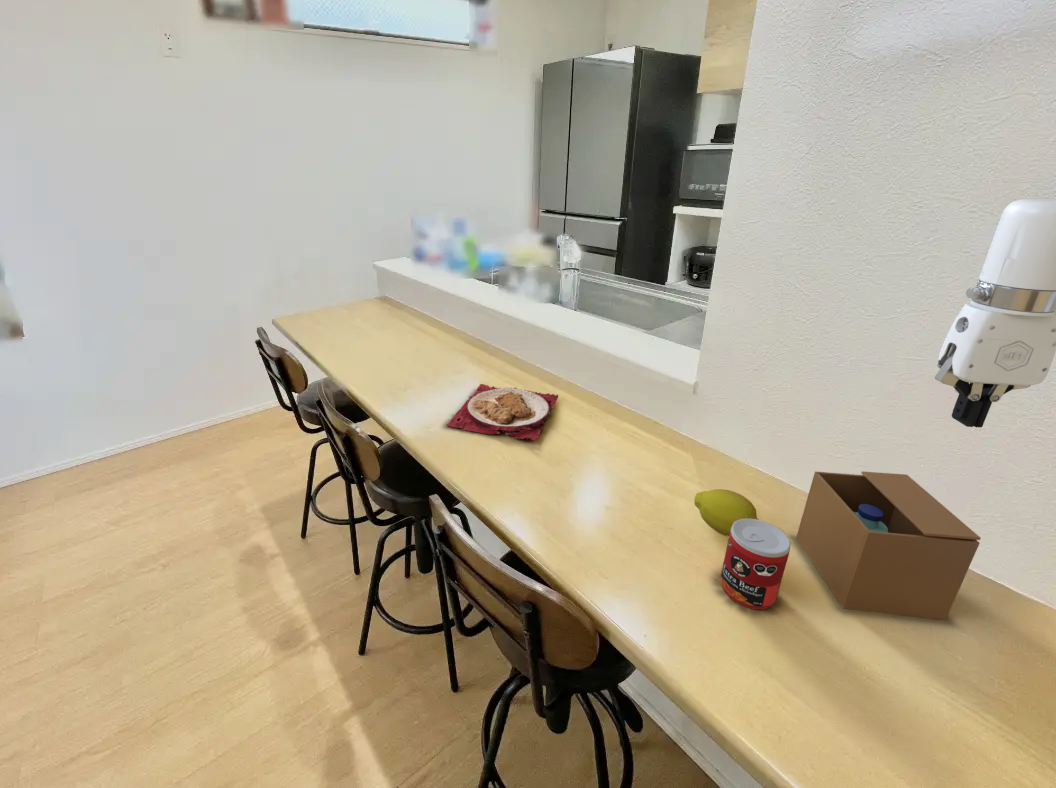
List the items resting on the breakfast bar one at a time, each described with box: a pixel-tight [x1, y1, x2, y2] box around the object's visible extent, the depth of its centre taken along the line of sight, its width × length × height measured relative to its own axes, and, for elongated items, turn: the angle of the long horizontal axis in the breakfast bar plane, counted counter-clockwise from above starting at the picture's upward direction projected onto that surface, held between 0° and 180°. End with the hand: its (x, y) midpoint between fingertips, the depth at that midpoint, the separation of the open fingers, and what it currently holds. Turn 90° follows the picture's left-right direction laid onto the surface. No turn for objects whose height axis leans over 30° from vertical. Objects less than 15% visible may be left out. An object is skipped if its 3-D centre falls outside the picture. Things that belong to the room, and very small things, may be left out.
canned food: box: [719, 518, 791, 610], centre depth 76 cm, size 8×8×11 cm
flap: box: [860, 471, 982, 541], centre depth 75 cm, size 7×15×1 cm, turn 171°
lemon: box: [694, 488, 759, 537], centre depth 90 cm, size 11×8×8 cm
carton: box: [795, 471, 981, 621], centre depth 78 cm, size 14×15×14 cm
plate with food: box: [446, 383, 559, 441], centre depth 133 cm, size 24×26×4 cm
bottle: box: [854, 504, 888, 533], centre depth 79 cm, size 6×6×12 cm
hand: (965, 422), depth 70 cm, fingers closed
